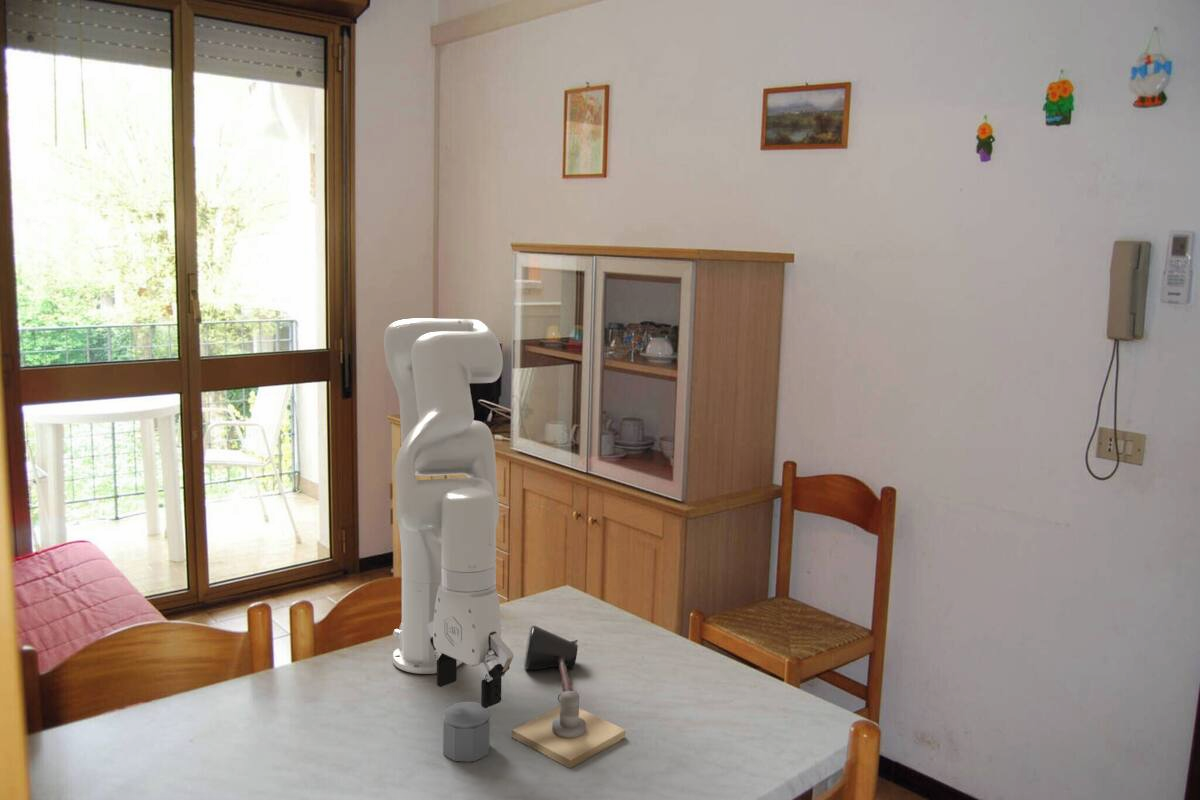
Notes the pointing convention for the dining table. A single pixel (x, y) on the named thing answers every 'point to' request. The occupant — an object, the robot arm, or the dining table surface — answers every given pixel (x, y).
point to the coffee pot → (550, 653)
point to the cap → (466, 731)
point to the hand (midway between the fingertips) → (468, 694)
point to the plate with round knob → (569, 732)
